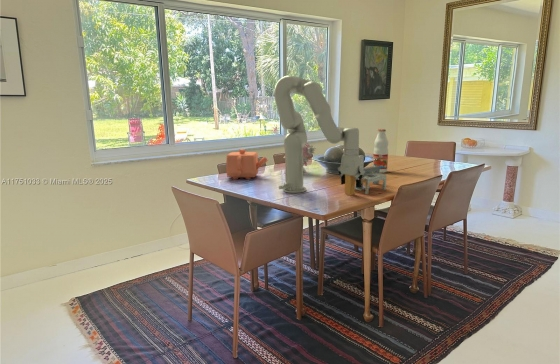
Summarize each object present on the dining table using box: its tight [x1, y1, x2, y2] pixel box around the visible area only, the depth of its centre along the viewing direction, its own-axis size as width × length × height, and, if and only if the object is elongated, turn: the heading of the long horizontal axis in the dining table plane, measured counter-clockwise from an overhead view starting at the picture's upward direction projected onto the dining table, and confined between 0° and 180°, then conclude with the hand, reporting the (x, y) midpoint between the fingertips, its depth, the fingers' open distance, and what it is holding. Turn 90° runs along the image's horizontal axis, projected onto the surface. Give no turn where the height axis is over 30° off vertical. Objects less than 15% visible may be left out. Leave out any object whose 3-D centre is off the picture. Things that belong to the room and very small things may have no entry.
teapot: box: [225, 148, 269, 180], centre depth 235 cm, size 25×23×18 cm
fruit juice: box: [372, 128, 389, 174], centre depth 246 cm, size 9×9×28 cm
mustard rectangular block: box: [344, 175, 356, 196], centre depth 192 cm, size 4×4×12 cm
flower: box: [282, 142, 316, 173], centre depth 246 cm, size 20×22×24 cm
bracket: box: [363, 165, 380, 185], centre depth 210 cm, size 14×2×10 cm, turn 129°
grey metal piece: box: [355, 154, 387, 195], centre depth 202 cm, size 16×18×18 cm
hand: (350, 185), depth 192 cm, fingers open, 9 cm apart
